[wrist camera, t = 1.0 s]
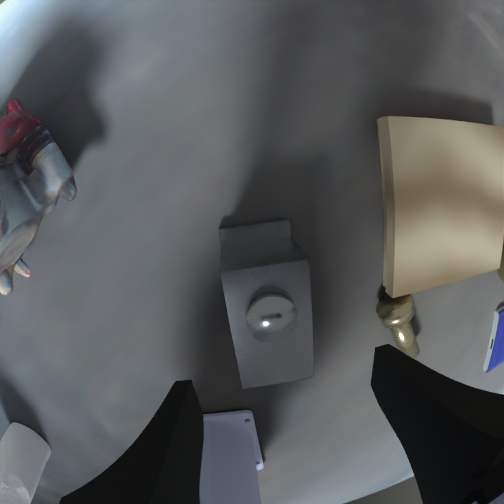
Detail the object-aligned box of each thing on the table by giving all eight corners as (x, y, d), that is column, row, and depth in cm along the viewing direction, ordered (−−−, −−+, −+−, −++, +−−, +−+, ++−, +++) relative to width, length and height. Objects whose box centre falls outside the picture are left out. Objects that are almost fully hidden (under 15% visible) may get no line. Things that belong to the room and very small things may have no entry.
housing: (297, 344, 21) (316, 395, 16) (241, 353, 21) (246, 408, 15) (286, 217, 18) (311, 241, 13) (219, 226, 18) (216, 255, 13)
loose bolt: (418, 338, 22) (434, 355, 19) (393, 356, 22) (407, 375, 19) (399, 285, 20) (418, 301, 17) (370, 306, 20) (386, 324, 18)
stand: (484, 260, 20) (499, 268, 18) (379, 285, 20) (392, 298, 18) (486, 127, 17) (503, 127, 15) (371, 119, 16) (387, 116, 14)
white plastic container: (28, 527, 12) (16, 526, 13) (57, 448, 23) (43, 457, 24) (-25, 491, 10) (-29, 495, 11) (16, 415, 22) (6, 428, 22)
